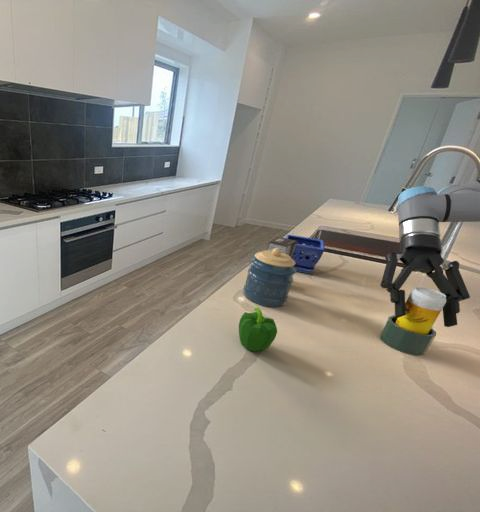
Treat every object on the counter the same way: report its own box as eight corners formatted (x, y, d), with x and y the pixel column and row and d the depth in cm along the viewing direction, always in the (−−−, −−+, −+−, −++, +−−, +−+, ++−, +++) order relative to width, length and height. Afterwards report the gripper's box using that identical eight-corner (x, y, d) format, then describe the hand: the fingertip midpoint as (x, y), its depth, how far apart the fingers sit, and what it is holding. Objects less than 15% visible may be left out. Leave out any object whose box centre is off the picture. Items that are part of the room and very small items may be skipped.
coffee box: (267, 274, 116) (278, 235, 110) (285, 281, 112) (298, 240, 105) (257, 281, 110) (268, 240, 104) (276, 288, 106) (289, 246, 100)
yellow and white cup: (382, 333, 82) (406, 285, 76) (406, 335, 81) (433, 287, 75) (400, 347, 76) (427, 297, 70) (426, 350, 76) (456, 299, 70)
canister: (246, 284, 108) (258, 238, 101) (287, 295, 101) (303, 247, 94) (238, 299, 98) (251, 249, 91) (283, 312, 91) (301, 260, 84)
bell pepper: (273, 360, 71) (284, 325, 68) (236, 351, 74) (245, 317, 70) (267, 339, 79) (277, 307, 75) (234, 332, 81) (242, 300, 77)
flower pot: (276, 268, 122) (284, 241, 117) (279, 258, 132) (286, 233, 127) (315, 277, 115) (325, 249, 110) (315, 266, 125) (324, 240, 120)
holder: (414, 339, 81) (424, 320, 79) (432, 359, 74) (444, 340, 71) (374, 330, 84) (382, 312, 82) (388, 349, 77) (398, 330, 74)
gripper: (461, 252, 80) (471, 335, 72) (362, 239, 87) (362, 313, 80) (486, 239, 73) (500, 329, 66) (377, 226, 80) (379, 306, 73)
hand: (424, 320), depth 73 cm, fingers open, 9 cm apart
